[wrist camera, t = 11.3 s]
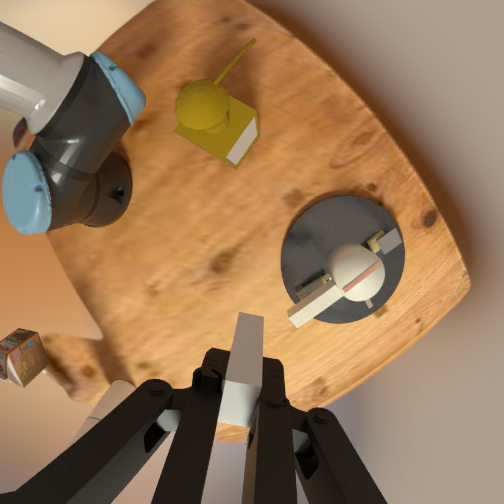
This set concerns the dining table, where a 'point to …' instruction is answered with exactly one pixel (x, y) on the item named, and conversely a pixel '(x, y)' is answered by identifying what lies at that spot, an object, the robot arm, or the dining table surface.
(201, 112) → the soap bottle
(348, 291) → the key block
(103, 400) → the container
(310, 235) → the post base
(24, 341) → the milk carton
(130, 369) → the dining table surface
